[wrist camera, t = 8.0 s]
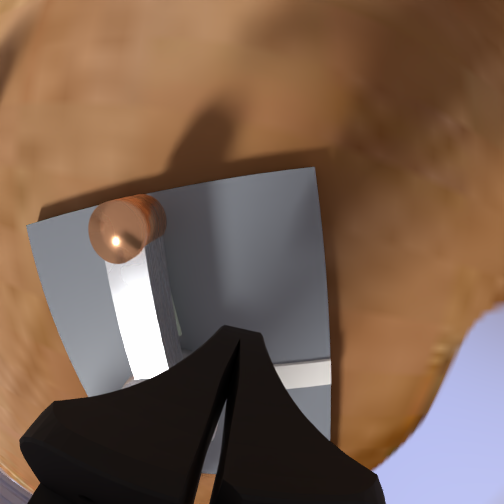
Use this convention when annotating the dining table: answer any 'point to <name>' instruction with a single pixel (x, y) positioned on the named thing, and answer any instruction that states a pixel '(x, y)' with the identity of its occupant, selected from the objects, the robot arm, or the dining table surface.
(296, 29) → the dining table surface
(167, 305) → the lever with ball knob
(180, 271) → the lock plate
